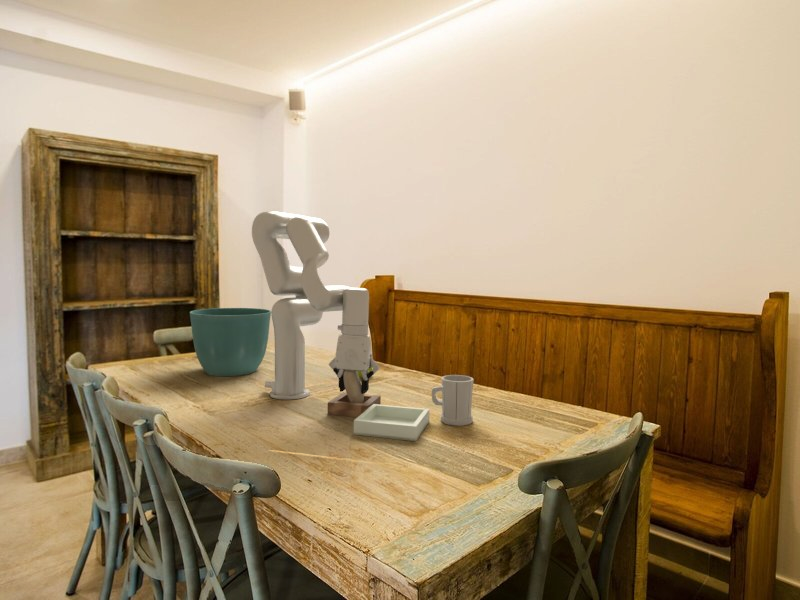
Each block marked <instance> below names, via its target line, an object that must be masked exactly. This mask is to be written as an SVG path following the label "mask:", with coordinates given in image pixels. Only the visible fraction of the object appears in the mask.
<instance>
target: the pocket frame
mask: <svg viewBox="0 0 800 600" xmlns="http://www.w3.org/2000/svg"><path fill="white" fill-rule="evenodd" d="M381 398H382V397H381V395H379V394H367V393H365V394H364V401H363V403H353V402H350V400H349V398H348V395H347V393H346V391H345V392H344V391H342V393H340V394H338V395H337V396H335V397H334V398H331V400H329V401H328V402H327V415H329V416H331V415H332V416H341V417H350V418H357V417H358V416H360V415H361V414H362V413H363V412H365V411H366V410H367V409H368V408H369V407H371V406H372V405H373V404H379V405H382V404H381V400H382V399H381Z"/></svg>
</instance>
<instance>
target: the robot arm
mask: <svg viewBox="0 0 800 600" xmlns="http://www.w3.org/2000/svg"><path fill="white" fill-rule="evenodd" d="M251 237H252V241H253V245H254V246H255V249H256V252H257V253H258V256H259V258H260V261H261V265H262V268H263V272H264V276H265V278H266V282H267V286H268V288H269V291H270V293H271V294H273V295H275V296H281V297H283V298H280V299H279V300H277V301H275V302H274V304H273V305H272V307H271V310H270V311H271V320H272V325H273V333H274V334H273V335H274V380H273V381H272V380H265V382H264V388H270V389H271V390H270V392H269V397H270V398H273V399H276V400H285V401H287V400H288V401H289V400H298V399H300V400H301V399H303V398H306V397H308V396H309V395H310V392H311V391H310V390H309V389H308V388H306V387H305V386H306V383H305V382H306V341H305V340H306V339H305V336H304V334H303V332H302V330H301V327H306V326H314V325H317V324H318V323H319V322H320V321H322V318H323V313H327V312H341V313H342V317H341V319H342V320H341V321H342V322H341V324H340V325H338V326H337V330H338V331H341V334H338V339H337V344H336V350H335V357H334V358H333V359H332V360H331V361H330V362H329V363H328V366H329V367H330V368H331V370H332V371H333V372H334V374H335V375H336V376H337V379H338V388H339V392H342V393H343V392H344V391H346V389H345V386H344V379H343V377H344V371H345V370H352V371H361V373H362V376H363V378H362V379H361V385H362V387H361V393H362V394H367V392H368V391H369V385H370V383H369V381H370V378H372V377H373V376H374V375H375V374H376V373H377V372H378V371H379V370H380V369H381V367H380V365H379V364H378V363H377V362H376V361H375V360H374V358H373V349H372V348H373V347H372V339H371V335H370V334H369V311H370V310H369V309H370V308H369V307H370V292H369V289H367V288H365V287H350V286H347V285H324V283H323V282H322V280H321V278H320V275H319V273H318V268H319V269H320V267H322V266H323V265H324V264H325V263H327V261H328V260H329V257H330V255H329V252H328V250H327V248H326V246H325V245H324V244H325V243H326V242H327V241H328V240H329V238H330V228H329V225H328V224H327V223H326V221H324V220H323V219H321V218H318V217H311V216H306V215H301V214H295V213H287V212H281V211H274V210H273V211H272V210H271V211H270V210H269V211H268V210H267V211H263V212H259V213H258V214H257V215H256V216H255V217H254V219H253V220H252V225H251ZM277 239H284V240H289V241H290V242H291V245H292V246H293V249H294V251H295V252H296V254H297V256H298V257H299V258H298V259H299V260H300V261H301V264H302V266H303V267H302V266H292V265H291V262H290V260H289V257H288V253H287V252H286V250H285V248H284V247H283V245H282V244H281V243H280V242H279V241H278V240H277ZM285 296H295V297H285ZM284 297H285V298H284ZM371 367H373V368H372V370H371V371H370V372H369V371H368V369H369V368H371Z"/></svg>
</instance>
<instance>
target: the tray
mask: <svg viewBox="0 0 800 600" xmlns="http://www.w3.org/2000/svg"><path fill="white" fill-rule="evenodd" d="M429 423H430V408H423V407H412V406H399V405H390V404H381V405H379V404H373V405H372V406H371V407H369V408H368V409H367V410H366V411H365V412H363V413H362V414H361V415H360V416H358V417H355V419H354V420H353V435H355V436H362V437H364V436H365V437H373V438H382V439H393V440H402V441H411V442H417V441H418V439H419V438H420V436H421V435H422V434H423V432H424V430H425V429H426V427H427V426H428V425H429Z"/></svg>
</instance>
